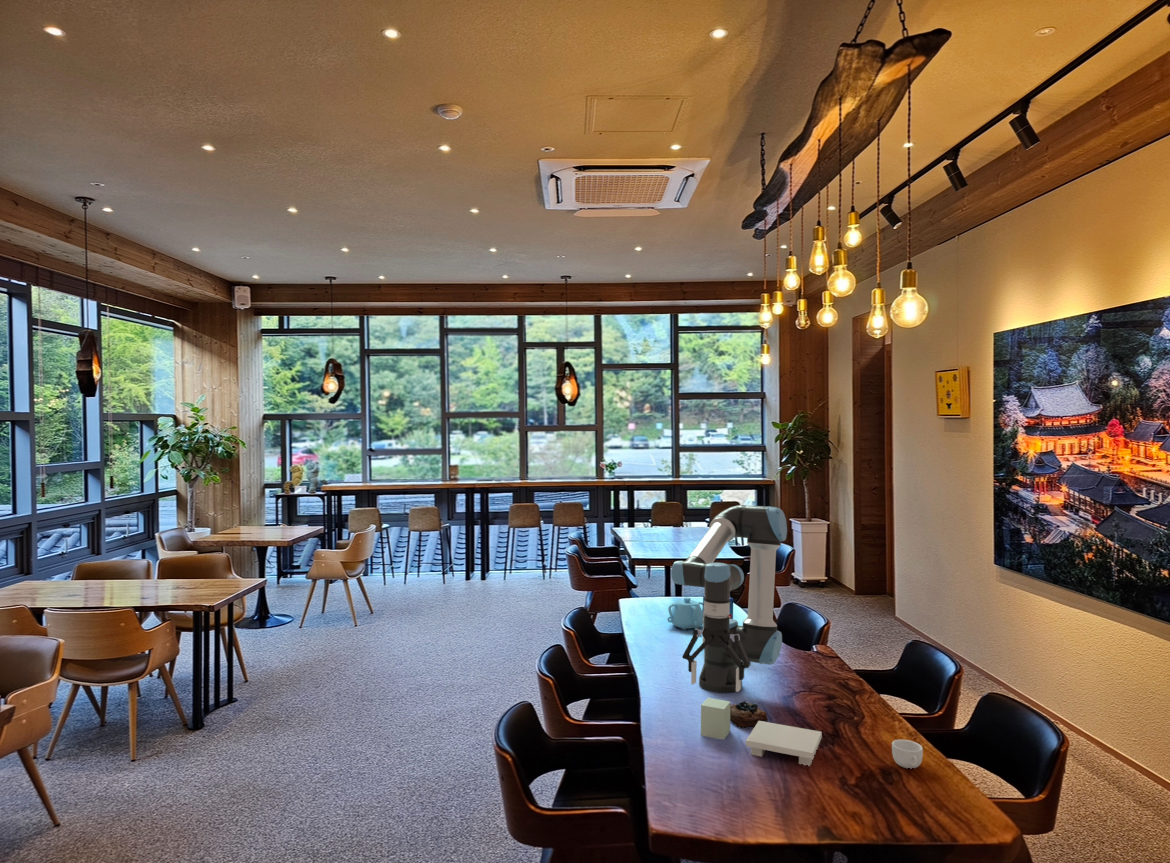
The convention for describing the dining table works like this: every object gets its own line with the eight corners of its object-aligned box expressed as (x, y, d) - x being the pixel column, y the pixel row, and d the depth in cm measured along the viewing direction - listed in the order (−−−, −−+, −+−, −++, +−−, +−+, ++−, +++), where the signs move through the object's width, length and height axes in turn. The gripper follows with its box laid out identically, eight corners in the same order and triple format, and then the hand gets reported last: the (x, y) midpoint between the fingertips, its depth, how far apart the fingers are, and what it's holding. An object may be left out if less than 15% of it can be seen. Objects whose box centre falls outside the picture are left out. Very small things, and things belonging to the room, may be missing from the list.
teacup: (887, 758, 205) (887, 739, 205) (915, 759, 204) (915, 739, 205) (901, 775, 195) (901, 754, 195) (931, 775, 194) (931, 755, 195)
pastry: (739, 730, 224) (739, 711, 224) (722, 716, 235) (722, 697, 235) (772, 727, 226) (772, 708, 226) (753, 713, 238) (753, 694, 238)
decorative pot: (662, 627, 342) (663, 598, 342) (678, 620, 356) (679, 592, 356) (694, 633, 333) (695, 603, 333) (710, 626, 346) (710, 597, 346)
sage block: (707, 727, 225) (707, 697, 226) (730, 731, 222) (730, 701, 222) (700, 735, 219) (701, 705, 219) (723, 739, 216) (724, 709, 216)
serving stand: (758, 735, 219) (758, 720, 219) (821, 747, 211) (821, 731, 211) (745, 756, 205) (746, 740, 205) (812, 770, 197) (813, 753, 197)
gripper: (673, 613, 223) (671, 683, 223) (755, 623, 212) (754, 697, 212) (680, 608, 230) (679, 676, 229) (761, 617, 219) (760, 689, 219)
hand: (715, 686), depth 221 cm, fingers open, 13 cm apart
